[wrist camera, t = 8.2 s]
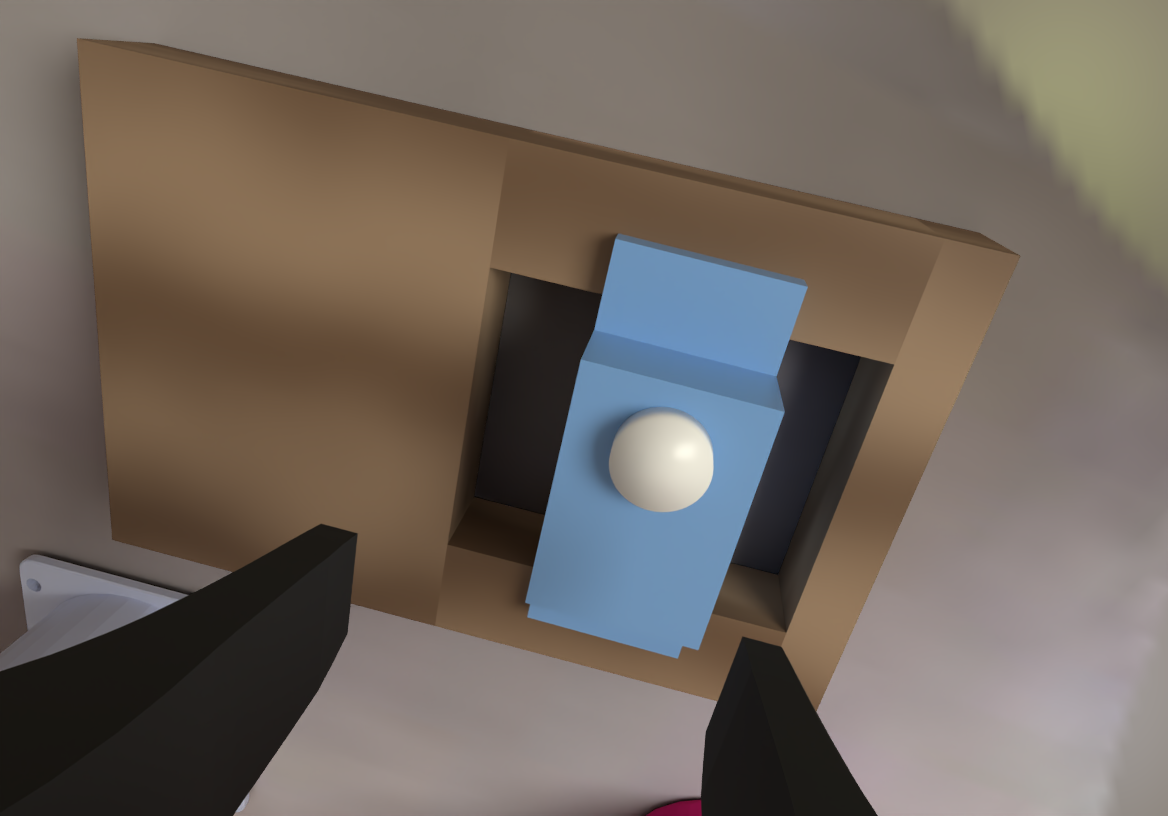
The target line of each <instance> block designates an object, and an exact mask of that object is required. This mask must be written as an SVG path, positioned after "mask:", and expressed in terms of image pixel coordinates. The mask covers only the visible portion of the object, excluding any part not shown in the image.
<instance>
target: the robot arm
mask: <svg viewBox="0 0 1168 816" xmlns="http://www.w3.org/2000/svg"><path fill="white" fill-rule="evenodd" d="M357 536H358V533H355V532H351V531H347V530H343V529H340V528H336V527H332V526H329V525H325V524H319V525H317V526H316V527H314V528H312V529H310V530H308V531H306V532H304V533H303V534H301V535H299V536H297V537H295V538H294V539H292V540H290V541H288V542H286V543H285V544H283V545H281V546H279V547H278V548H276V549H274V550H272V551H271V552H269V553H267V554H265V555H263V556H262V557H260V558H258V559H256V560H254V561H253V562H251V563H249V564H247V565H245V566H244V567H242V568H240V569H238V570H236V571H234V572H232V573H231V574H229V575H227V576H225V577H223V578H221V579H219V580H218V581H216V582H214V583H212V584H210V585H208V586H206V587H204V588H203V589H200V590H198V591H196V592H194V593H192V594H190V595H186V594H183V593H179V592H175V591H171V590H168V589H164V588H160V587H157V586H153V585H149V584H145V583H142V582H138V581H134V580H131V579H127V578H123V577H119V576H116V575H112V574H108V573H105V572H101V571H97V570H93V569H90V568H86V567H82V566H79V565H75V564H71V563H67V562H64V561H60V560H56V559H53V558H49V557H45V556H41V555H35V554H34V555H31V556H29V557H27V558H26V559H24V560H23V561H22V562H21V563H20V567H19V569H20V577H21V584H22V592H23V599H24V606H25V614H26V621H27V629H28V631H27V632H26V633H25V634H23V635H22V636H21V637H20V638H18V639H17V640H16V641H15V642H13V643H12V644H11V645H10V646H9V647H7V648H6V649H5V650H4V651H2V652H1V653H0V816H233V815H234V813H235V812H240V811H242V810H243V809H244V808H245V806H246V805H247V803H248V801H249V792H250V790H251V789H252V787H253V786H254V784H255V783H256V781H257V780H258V778H259V777H260V775H261V774H262V773H263V771H264V770H265V768H266V767H267V765H268V764H269V762H270V761H271V759H272V758H273V756H274V755H275V754H276V752H277V751H278V749H279V748H280V746H281V745H282V743H283V742H284V740H285V739H286V738H287V736H288V735H289V733H290V732H291V730H292V729H293V727H294V726H295V724H296V723H297V721H298V720H299V718H300V717H301V715H302V714H303V712H304V711H305V709H306V708H307V706H308V705H309V703H310V702H311V700H312V699H313V697H314V696H315V694H316V693H317V691H318V690H319V688H320V686H321V684H322V682H323V680H324V678H325V677H326V675H327V673H328V671H329V669H330V667H331V665H332V663H333V661H334V659H335V657H336V655H337V653H338V651H339V649H340V647H341V645H342V643H343V641H344V639H345V637H346V635H347V633H348V623H349V613H350V604H351V594H352V584H353V575H354V565H355V556H356V546H357ZM701 813H702V816H878V815H877V814H876V812H875V811H874V809H873V808H872V806H871V805H870V803H869V802H868V800H867V799H866V797H865V796H864V794H863V792H862V791H861V789H860V787H859V786H858V784H857V783H856V781H855V779H854V778H853V776H852V774H851V773H850V771H849V769H848V767H847V766H846V764H845V762H844V760H843V759H842V757H841V755H840V754H839V752H838V750H837V748H836V747H835V745H834V743H833V741H832V740H831V738H830V736H829V734H828V733H827V731H826V729H825V727H824V725H823V724H822V722H821V720H820V718H819V716H818V714H817V712H816V711H815V709H814V707H813V705H812V703H811V701H810V699H809V697H808V696H807V694H806V692H805V690H804V688H803V686H802V684H801V682H800V680H799V678H798V676H797V674H796V672H795V671H794V669H793V667H792V665H791V663H790V661H789V659H788V657H787V655H786V654H785V652H784V650H783V648H782V647H781V646H777V645H773V644H769V643H766V642H762V641H758V640H754V639H751V638H747V637H743V636H742V639H741V642H740V644H739V647H738V649H737V652H736V655H735V657H734V660H733V663H732V665H731V668H730V670H729V673H728V676H727V678H726V681H725V683H724V686H723V689H722V691H721V694H720V696H719V699H718V702H717V704H716V707H715V709H714V712H713V715H712V717H711V720H710V722H709V725H708V728H707V730H706V736H705V748H704V760H703V774H702V789H701Z"/></svg>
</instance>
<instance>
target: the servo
mask: <svg viewBox="0 0 1168 816" xmlns="http://www.w3.org/2000/svg"><path fill="white" fill-rule="evenodd" d="M807 288H808V286H807V284H806V282H805V280H803V279H799V278H795V277H791V276H787V275H783V274H779V273H775V272H771V271H767V270H763V269H759V268H755V267H751V266H747V265H743V264H739V263H735V262H731V261H727V260H723V259H719V258H715V257H711V256H707V255H703V254H699V253H695V252H691V251H687V250H683V249H679V248H675V247H671V246H667V245H663V244H659V243H655V242H651V241H647V240H643V239H639V238H635V237H631V236H627V235H623V234H618V235H617V237H616V239H615V243H614V247H613V251H612V256H611V260H610V264H609V269H608V273H607V277H606V281H605V286H604V290H603V294H602V299H601V303H600V307H599V311H598V316H597V320H596V324H595V329H594V331H593V334H592V336H591V338H590V340H589V343H588V345H587V347H586V349H585V351H584V354H583V356H582V358H581V361H580V366H579V370H578V374H577V379H576V383H575V387H574V392H573V396H572V400H571V405H570V409H569V414H568V418H567V422H566V427H565V431H564V435H563V440H562V444H561V448H560V453H559V457H558V461H557V466H556V470H555V475H554V479H553V483H552V488H551V492H550V496H549V501H548V505H547V509H546V514H545V518H544V522H543V527H542V531H541V535H540V540H539V544H538V549H537V553H536V557H535V562H534V566H533V570H532V575H531V579H530V583H529V588H528V592H527V596H526V601H525V603H528V604H530V607H529V611H528V616H527V617H528V618H532V619H535V620H539V621H543V622H546V623H550V624H554V625H557V626H561V627H564V628H568V629H572V630H575V631H579V632H583V633H586V634H590V635H594V636H597V637H601V638H604V639H608V640H612V641H615V642H619V643H623V644H626V645H630V646H633V647H637V648H641V649H644V650H648V651H652V652H655V653H659V654H662V655H666V656H670V657H673V658H677V659H678V657H679V654H680V651H681V648H682V646H685V647H688V648H692V649H696V650H699V647H700V644H701V642H702V639H703V636H704V633H705V631H706V628H707V625H708V622H709V620H710V617H711V614H712V611H713V609H714V606H715V603H716V600H717V597H718V595H719V592H720V589H721V586H722V584H723V581H724V578H725V575H726V573H727V570H728V567H729V564H730V562H731V559H732V556H733V553H734V551H735V548H736V545H737V542H738V540H739V537H740V534H741V531H742V529H743V526H744V523H745V520H746V518H747V515H748V512H749V509H750V506H751V504H752V501H753V498H754V495H755V493H756V490H757V487H758V484H759V482H760V479H761V476H762V473H763V471H764V468H765V465H766V462H767V460H768V457H769V454H770V451H771V449H772V446H773V443H774V440H775V438H776V435H777V432H778V429H779V426H780V424H781V421H782V418H783V415H784V413H785V411H784V406H783V402H782V398H781V394H780V389H779V385H778V381H777V377H776V376H777V374H778V371H779V368H780V365H781V362H782V359H783V356H784V354H785V351H786V348H787V345H788V342H789V339H790V336H791V334H792V331H793V328H794V325H795V322H796V319H797V316H798V314H799V311H800V308H801V305H802V302H803V299H804V296H805V294H806V291H807Z"/></svg>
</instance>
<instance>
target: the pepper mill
mask: <svg viewBox="0 0 1168 816" xmlns="http://www.w3.org/2000/svg"><path fill="white" fill-rule="evenodd" d="M646 816H702V813H701V800H691V801H679V802H676V803H673V804H670V805H667V806H663V807H660V808H657V809H655V810H653V811H652V812H650V813H649V814H648V815H646Z"/></svg>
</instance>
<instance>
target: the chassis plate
mask: <svg viewBox="0 0 1168 816" xmlns="http://www.w3.org/2000/svg"><path fill="white" fill-rule="evenodd" d="M77 47H78V61H79V75H80V90H81V104H82V118H83V132H84V146H85V160H86V174H87V189H88V203H89V217H90V231H91V245H92V259H93V273H94V288H95V302H96V316H97V330H98V344H99V358H100V372H101V387H102V401H103V415H104V429H105V443H106V457H107V471H108V486H109V500H110V514H111V528H112V540H115V541H119V542H122V543H126V544H130V545H134V546H138V547H141V548H145V549H149V550H153V551H156V552H160V553H164V554H168V555H171V556H175V557H179V558H183V559H186V560H190V561H194V562H198V563H201V564H205V565H209V566H213V567H216V568H220V569H224V570H228V571H231V572H234V571H236V570H238V569H240V568H242V567H244V566H245V565H247V564H249V563H251V562H253V561H254V560H256V559H258V558H260V557H262V556H263V555H265V554H267V553H269V552H271V551H272V550H274V549H276V548H278V547H279V546H281V545H283V544H285V543H286V542H288V541H290V540H292V539H294V538H295V537H297V536H299V535H301V534H303V533H304V532H306V531H308V530H310V529H312V528H314V527H316V526H317V525H319V524H325V525H329V526H332V527H336V528H340V529H343V530H347V531H351V532H355V533H358V536H357V546H356V556H355V565H354V575H353V584H352V594H351V604H355V605H359V606H363V607H366V608H370V609H374V610H378V611H381V612H385V613H389V614H393V615H396V616H400V617H404V618H408V619H411V620H415V621H419V622H423V623H426V624H430V625H434V626H438V627H441V628H445V629H449V630H453V631H456V632H460V633H464V634H468V635H471V636H475V637H479V638H483V639H486V640H490V641H494V642H498V643H501V644H505V645H509V646H513V647H516V648H520V649H524V650H528V651H531V652H535V653H539V654H543V655H546V656H550V657H554V658H558V659H561V660H565V661H569V662H573V663H576V664H580V665H584V666H588V667H591V668H595V669H599V670H603V671H606V672H610V673H614V674H618V675H621V676H625V677H629V678H633V679H636V680H640V681H644V682H648V683H651V684H655V685H659V686H663V687H666V688H670V689H674V690H678V691H681V692H685V693H689V694H693V695H696V696H700V697H704V698H708V699H711V700H715V701H718V699H719V696H720V694H721V691H722V689H723V686H724V683H725V681H726V678H727V676H728V673H729V670H730V668H731V665H732V663H733V660H734V657H735V655H736V652H737V649H738V647H739V644H740V642H741V639H742V636H743V637H747V638H751V639H754V640H758V641H762V642H766V643H769V644H773V645H777V646H781V647H782V648H783V650H784V652H785V654H786V655H787V657H788V659H789V661H790V663H791V665H792V667H793V669H794V671H795V672H796V674H797V676H798V678H799V680H800V682H801V684H802V686H803V688H804V690H805V692H806V694H807V696H808V697H809V699H810V701H811V703H812V705H813V707H814V709H815V711H817V709H818V706H819V704H820V702H821V700H822V697H823V695H824V693H825V691H826V689H827V686H828V684H829V682H830V680H831V677H832V675H833V673H834V671H835V669H836V666H837V664H838V662H839V660H840V657H841V655H842V653H843V651H844V648H845V646H846V644H847V642H848V640H849V637H850V635H851V633H852V631H853V628H854V626H855V624H856V622H857V619H858V617H859V615H860V613H861V611H862V608H863V606H864V604H865V602H866V599H867V597H868V595H869V593H870V590H871V588H872V586H873V584H874V582H875V579H876V577H877V575H878V573H879V570H880V568H881V566H882V564H883V561H884V559H885V557H886V555H887V553H888V550H889V548H890V546H891V544H892V541H893V539H894V537H895V535H896V532H897V530H898V528H899V526H900V524H901V521H902V519H903V517H904V515H905V512H906V510H907V508H908V506H909V503H910V501H911V499H912V497H913V495H914V492H915V490H916V488H917V486H918V483H919V481H920V479H921V477H922V474H923V472H924V470H925V468H926V466H927V463H928V461H929V459H930V457H931V454H932V452H933V450H934V448H935V445H936V443H937V441H938V439H939V437H940V434H941V432H942V430H943V428H944V425H945V423H946V421H947V419H948V416H949V414H950V412H951V410H952V408H953V405H954V403H955V401H956V399H957V396H958V394H959V392H960V390H961V387H962V385H963V383H964V381H965V379H966V376H967V374H968V372H969V370H970V367H971V365H972V363H973V361H974V358H975V356H976V354H977V352H978V350H979V347H980V345H981V343H982V341H983V338H984V336H985V334H986V332H987V329H988V327H989V325H990V323H991V321H992V318H993V316H994V314H995V312H996V309H997V307H998V305H999V303H1000V300H1001V298H1002V296H1003V294H1004V292H1005V289H1006V287H1007V285H1008V283H1009V280H1010V278H1011V276H1012V274H1013V271H1014V269H1015V267H1016V265H1017V263H1018V260H1019V258H1020V255H1018V254H1016V253H1014V252H1012V251H1011V250H1009V249H1007V248H1005V247H1004V246H1002V245H1000V244H998V243H996V242H995V241H993V240H991V239H989V238H988V237H986V236H984V235H982V234H981V233H978V232H973V231H969V230H965V229H960V228H956V227H952V226H947V225H943V224H939V223H934V222H930V221H925V220H921V219H917V218H912V217H908V216H904V215H899V214H895V213H891V212H886V211H882V210H878V209H873V208H869V207H864V206H860V205H856V204H851V203H847V202H843V201H838V200H834V199H830V198H825V197H821V196H817V195H812V194H808V193H804V192H799V191H795V190H790V189H786V188H782V187H777V186H773V185H769V184H764V183H760V182H756V181H751V180H747V179H743V178H738V177H734V176H729V175H725V174H721V173H716V172H712V171H708V170H703V169H699V168H695V167H690V166H686V165H682V164H677V163H673V162H669V161H664V160H660V159H655V158H651V157H647V156H642V155H638V154H634V153H629V152H625V151H621V150H616V149H612V148H608V147H603V146H599V145H594V144H590V143H586V142H581V141H577V140H573V139H568V138H564V137H560V136H555V135H551V134H547V133H542V132H538V131H533V130H529V129H525V128H520V127H516V126H512V125H507V124H503V123H499V122H494V121H490V120H486V119H481V118H477V117H473V116H468V115H464V114H459V113H455V112H451V111H446V110H442V109H438V108H433V107H429V106H425V105H420V104H416V103H412V102H407V101H403V100H398V99H394V98H390V97H385V96H381V95H377V94H372V93H368V92H364V91H359V90H355V89H351V88H346V87H342V86H338V85H333V84H329V83H324V82H320V81H316V80H311V79H307V78H303V77H298V76H294V75H290V74H285V73H281V72H277V71H272V70H268V69H263V68H259V67H255V66H250V65H246V64H242V63H237V62H233V61H229V60H224V59H220V58H216V57H211V56H207V55H203V54H198V53H194V52H189V51H185V50H181V49H176V48H172V47H168V46H163V45H159V44H155V43H140V42H124V41H109V40H93V39H78V38H77ZM618 234H623V235H627V236H631V237H635V238H639V239H643V240H647V241H651V242H655V243H659V244H663V245H667V246H671V247H675V248H679V249H683V250H687V251H691V252H695V253H699V254H703V255H707V256H711V257H715V258H719V259H723V260H727V261H731V262H735V263H739V264H743V265H747V266H751V267H755V268H759V269H763V270H767V271H771V272H775V273H779V274H783V275H787V276H791V277H795V278H799V279H803V280H805V282H806V284H807V286H808V288H807V291H806V294H805V296H804V299H803V302H802V305H801V308H800V311H799V314H798V316H797V319H796V322H795V325H794V328H793V331H792V334H791V336H790V340H794V341H798V342H803V343H807V344H811V345H815V346H819V347H823V348H828V349H832V350H836V351H840V352H844V353H848V354H853V355H857V356H861V359H860V362H859V364H858V367H857V369H856V372H855V375H854V377H853V380H852V383H851V385H850V388H849V390H848V393H847V396H846V398H845V401H844V404H843V406H842V409H841V411H840V414H839V417H838V419H837V422H836V425H835V427H834V430H833V432H832V435H831V438H830V440H829V443H828V446H827V448H826V451H825V453H824V456H823V459H822V461H821V464H820V467H819V469H818V472H817V474H816V477H815V480H814V482H813V485H812V488H811V490H810V493H809V495H808V498H807V501H806V503H805V506H804V509H803V511H802V514H801V516H800V519H799V522H798V524H797V527H796V530H795V532H794V535H793V537H792V540H791V543H790V545H789V548H788V551H787V553H786V556H785V558H784V561H783V564H782V566H781V569H780V572H779V574H778V575H776V574H772V573H768V572H764V571H760V570H756V569H752V568H748V567H745V566H741V565H737V564H733V563H730V564H729V567H728V570H727V573H726V575H725V578H724V581H723V584H722V586H721V589H720V592H719V595H718V597H717V600H716V603H715V606H714V609H713V611H712V614H711V617H710V620H709V622H708V625H707V628H706V631H705V633H704V636H703V639H702V642H701V644H700V647H699V650H696V649H692V648H688V647H685V646H682V648H681V651H680V654H679V657H678V659H677V658H673V657H670V656H666V655H662V654H659V653H655V652H652V651H648V650H644V649H641V648H637V647H633V646H630V645H626V644H623V643H619V642H615V641H612V640H608V639H604V638H601V637H597V636H594V635H590V634H586V633H583V632H579V631H575V630H572V629H568V628H564V627H561V626H557V625H554V624H550V623H546V622H543V621H539V620H535V619H532V618H528V617H527V616H528V611H529V607H530V604H528V603H525V601H526V596H527V592H528V588H529V583H530V579H531V575H532V570H533V566H534V562H535V557H536V553H537V549H538V544H539V540H540V535H541V531H542V527H543V522H544V518H545V515H542V514H538V513H534V512H530V511H526V510H523V509H519V508H515V507H511V506H507V505H503V504H499V503H495V502H491V501H487V500H484V499H480V498H476V497H474V494H475V488H476V481H477V475H478V469H479V463H480V457H481V451H482V445H483V439H484V433H485V427H486V421H487V415H488V409H489V403H490V397H491V391H492V385H493V378H494V372H495V366H496V360H497V354H498V348H499V342H500V336H501V330H502V324H503V318H504V312H505V306H506V300H507V294H508V288H509V281H510V275H511V273H515V274H519V275H523V276H528V277H532V278H536V279H540V280H544V281H548V282H553V283H557V284H561V285H565V286H569V287H573V288H578V289H582V290H586V291H590V292H594V293H598V294H603V290H604V286H605V281H606V277H607V273H608V269H609V264H610V260H611V256H612V251H613V247H614V243H615V239H616V237H617V235H618Z"/></svg>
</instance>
